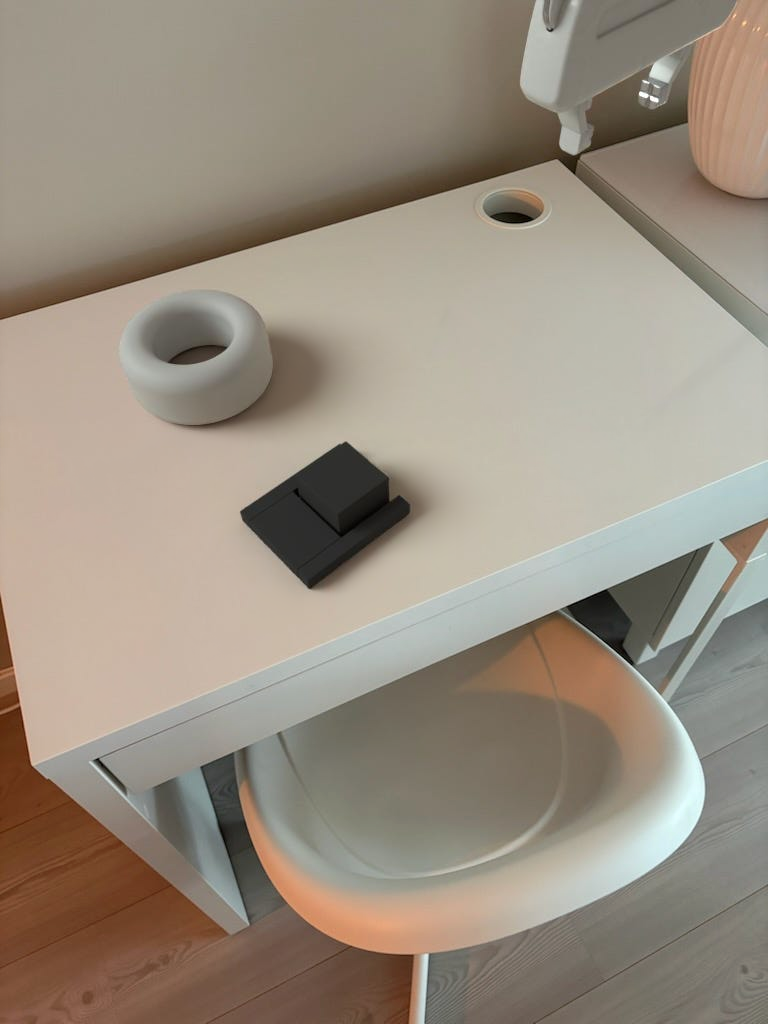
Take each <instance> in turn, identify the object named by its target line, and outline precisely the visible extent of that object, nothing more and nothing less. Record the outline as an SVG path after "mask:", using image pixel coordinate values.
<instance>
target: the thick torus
mask: <svg viewBox="0 0 768 1024" xmlns="http://www.w3.org/2000/svg"><path fill="white" fill-rule="evenodd" d="M202 346H220V347H224V348H225V350H223V351H222V352H221V353H219V354H218V355H216V356H214V357H212V358H209V359H207V360H205V361H201V362H198V363H197V362H196V363H191V364H175V363H170V361H171V359H173V358H174V357H176V356H177V355H179V354H181V353H183V352H185V351H187V350H191V349H193V348H197V347H202ZM118 356H119V361H120V362H119V363H120V365H121V367H122V370H123V373H124V375H125V377H126V380H127V382H128V384H129V387H130V389H131V391H132V394H133V396H134V398H135V399H136V401H137V402H138V404H140V406H141V407H142V408H143V409H144V410H145V411H146V412H148V413H149V414H151V415H152V416H154V417H155V418H157V419H161V420H162V421H164V422H165V421H166V422H169V423H172V424H177V425H186V426H200V425H207V424H214V423H217V422H218V423H219V422H221V421H225V420H227V419H230V418H232V417H234V416H236V415H238V414H240V413H242V412H243V411H246V409H248V408H249V407H251V406H252V405H254V403H256V401H258V400H259V398H260V397H261V396H262V395H263V394H264V392H265V391H266V389H267V388H268V386H269V383H270V381H271V379H272V375H273V370H274V369H273V367H274V362H273V361H274V360H273V354H272V350H271V344H270V339H269V334H268V329H267V326H266V323H265V320H264V319H263V317H262V316H261V314H260V312H259V311H258V310H257V309H256V308H255V307H254V306H253V305H252V304H250V303H249V302H248V301H246V300H245V299H242V298H241V297H239V296H237V295H234V294H232V293H229V292H225V291H221V290H216V289H191V290H190V289H189V290H185V291H184V290H183V291H179V292H175V293H172V294H168V295H166V296H163V297H161V298H159V299H156V300H155V301H153V302H151V303H149V304H148V305H146V306H144V307H143V308H142V309H141V310H139V312H137V313H136V314H135V315H134V316H133V317H132V318H131V320H130V321H129V322H128V323H127V325H126V327H125V329H124V330H123V332H122V335H121V338H120V343H119V348H118Z"/></svg>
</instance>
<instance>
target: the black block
mask: <svg viewBox="0 0 768 1024" xmlns="http://www.w3.org/2000/svg"><path fill="white" fill-rule="evenodd" d="M340 444H341V445H339V446H338V447H336V448H335V449H333V450H332V451H330V450H329V451H330V452H329V453H327V452H326V453H327V454H326V455H324V454H323V455H324V456H323V457H322V458H320V459H319V460H317V461H316V462H314V463H313V464H311V465H310V466H308V467H307V468H305V469H304V470H302V469H301V470H302V471H301V472H299V471H298V472H299V473H298V474H296V473H295V474H296V480H297V485H298V491H299V496H300V497H299V498H300V499H301V500H302V501H303V502H304V503H305V504H306V505H307V506H308V507H310V508H311V509H312V510H313V511H314V512H315V513H316V514H317V515H318V516H319V517H320V518H321V519H322V520H323V521H324V522H325V523H326V524H327V525H328V526H330V527H331V528H332V529H333V530H334V531H335V532H336V533H337V534H338V535H339V536H340V537H341V538H342V537H343V536H344V535H346V534H347V533H348V532H350V531H351V530H352V529H354V528H355V527H356V526H358V525H359V524H360V523H362V522H363V521H364V520H366V519H367V518H369V517H370V516H371V515H373V514H374V513H375V512H377V511H378V510H379V509H381V508H382V507H383V506H385V505H386V504H387V503H389V502H390V478H389V476H387V474H385V473H384V472H383V471H382V470H380V468H378V467H377V466H376V465H374V464H373V462H372V461H370V460H369V459H368V458H367V457H365V456H364V455H363V454H362V453H361V452H359V451H358V449H356V448H355V447H354V446H353V445H351V444H350V443H349V442H348V441H346V440H345V441H344V442H342V443H340Z"/></svg>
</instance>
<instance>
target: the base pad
mask: <svg viewBox="0 0 768 1024" xmlns="http://www.w3.org/2000/svg"><path fill="white" fill-rule="evenodd" d="M341 444H342V443H339V444H337V445H335V446H334V447H333V448H331V449H330V450H328V451H326V452H325V453H324V454H322V455H320V456H319V457H317V458H316V459H314V460H313V461H312V462H310V463H308V464H307V465H306V466H304V467H303V468H301V469H300V470H299V471H297V472H295V473H294V474H293V475H291V476H290V477H288V478H287V479H285V480H283V481H282V482H280V483H279V484H278V485H277V486H276V485H275V487H274V488H272V489H271V490H269V491H267V492H266V493H265V494H263V495H262V496H260V497H258V498H257V499H255V500H254V501H253V502H252V503H250V504H248V505H246V506H245V507H244V508H242V509H241V510H240V511H239V513H240V518H241V520H242V522H243V523H244V524H245V525H246V526H247V527H248V528H249V529H250V530H251V531H252V532H253V533H254V535H256V536H257V538H258V539H260V540H261V541H262V542H263V544H265V546H266V547H267V548H269V550H270V551H271V552H273V554H274V555H275V556H276V557H277V558H278V559H279V560H280V561H281V562H282V563H283V564H284V565H285V566H286V568H288V569H289V570H290V571H291V572H292V574H294V575H295V576H296V577H297V578H298V579H299V580H300V582H302V584H304V586H306V588H307V589H308V590H311V589H312V588H313V587H314V586H316V585H317V584H319V583H320V582H322V581H323V580H324V579H325V578H326V577H328V576H329V575H330V574H332V573H333V572H335V571H336V570H337V569H338V568H340V567H341V566H342V565H343V564H345V563H346V562H348V561H349V560H350V559H352V558H353V557H354V556H356V555H357V554H358V553H360V552H361V551H362V550H363V549H365V548H367V546H369V545H370V544H371V543H373V542H374V541H375V540H377V539H378V538H379V537H381V536H382V535H383V534H385V533H386V532H387V531H388V530H390V529H391V528H392V527H394V526H395V525H396V524H398V523H399V522H400V521H402V520H403V519H404V518H406V517H407V516H408V515H409V514H411V504H410V502H408V501H407V500H406V499H405V498H404V497H402V496H401V495H400V494H398V495H397V496H395V497H394V498H393V499H392V500H389V503H387V504H386V505H385V506H383V507H382V508H381V509H379V510H378V511H377V512H375V513H374V514H373V515H371V516H370V517H369V518H367V519H366V520H364V521H363V522H362V523H360V524H359V525H358V526H356V527H355V528H354V529H352V530H351V531H350V532H348V533H347V534H346V535H344V536H343V537H342V538H341V537H340V536H339V535H338V534H337V533H336V532H335V531H334V530H333V529H332V528H331V527H330V526H328V525H327V524H326V523H325V522H324V521H323V520H322V519H321V518H320V517H319V516H318V515H317V514H316V513H315V512H314V511H313V510H312V509H311V508H310V507H308V506H307V505H306V504H305V503H304V502H303V501H302V500H301V499H300V496H299V491H298V485H297V480H296V474H298V473H299V472H301V471H302V470H304V469H305V468H307V467H308V466H310V465H311V464H313V463H314V462H316V461H317V460H319V459H320V458H322V457H323V456H324V455H326V454H327V453H329V452H330V451H332V450H333V449H335V448H336V447H338V446H339V445H341Z"/></svg>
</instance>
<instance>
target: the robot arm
mask: <svg viewBox="0 0 768 1024" xmlns="http://www.w3.org/2000/svg"><path fill="white" fill-rule="evenodd" d="M738 2H739V0H535V3H534V7H533V10H532V16H531V19H530V23H529V28H528V32H527V36H526V37H527V38H526V41H525V43H526V44H525V47H524V48H525V49H524V52H523V57H522V64H521V70H520V76H519V86H520V89H521V91H522V93H523V95H524V97H525V98H526V99H527V100H528V102H529V101H530V102H531V103H533V104H534V105H537V106H539V107H542V108H543V109H546V110H548V111H550V112H553V113H556V114H557V116H558V119H559V122H560V125H561V130H560V136H559V143H558V144H559V147H560V149H561V150H562V151H563V152H565V153H567V154H570V155H571V156H576V155H578V154H580V153H581V152H584V151H585V150H586V149H588V148H589V147H591V144H592V137H593V134H594V130H595V125H593V124H591V123H589V122H587V115H586V111H588V110H589V109H591V108H592V103H593V100H594V97H595V96H597V95H599V94H600V93H602V92H604V91H606V90H608V89H609V88H612V87H614V86H615V85H617V84H619V83H621V82H622V81H625V80H626V79H628V78H630V77H632V76H634V75H635V74H637V73H639V72H641V71H642V70H644V69H646V68H648V67H651V66H652V67H651V68H650V69H651V70H650V72H649V73H648V76H647V77H645V78H643V79H642V80H641V84H640V89H639V90H640V91H639V93H638V97H637V102H638V104H639V105H640V106H641V107H646V108H647V109H648V110H656V109H657V108H658V107H660V106H663V105H664V104H667V102H668V100H669V97H670V94H671V90H672V86H673V83H674V81H675V80H676V78H677V77H678V76H679V75H678V74H679V73H680V71H681V70H682V68H683V66H684V64H685V63H686V61H687V59H688V57H689V56H690V54H691V51H692V47H693V44H694V42H696V41H697V40H699V39H702V38H703V37H705V36H707V35H709V34H710V33H713V32H714V31H716V30H719V29H720V28H722V27H723V26H724V24H725V23H726V22H727V21H728V19H729V18H730V16H731V14H732V13H733V11H734V10H735V8H736V6H737V4H738Z"/></svg>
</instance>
